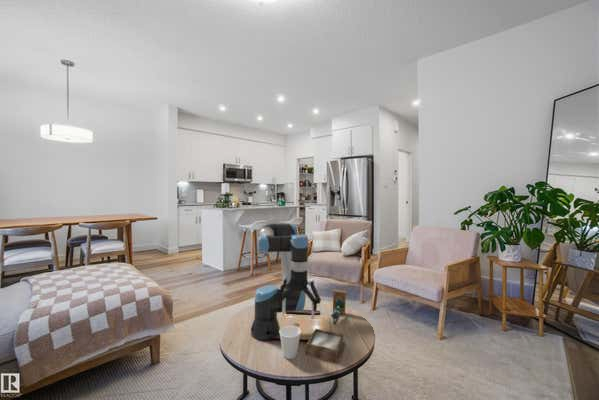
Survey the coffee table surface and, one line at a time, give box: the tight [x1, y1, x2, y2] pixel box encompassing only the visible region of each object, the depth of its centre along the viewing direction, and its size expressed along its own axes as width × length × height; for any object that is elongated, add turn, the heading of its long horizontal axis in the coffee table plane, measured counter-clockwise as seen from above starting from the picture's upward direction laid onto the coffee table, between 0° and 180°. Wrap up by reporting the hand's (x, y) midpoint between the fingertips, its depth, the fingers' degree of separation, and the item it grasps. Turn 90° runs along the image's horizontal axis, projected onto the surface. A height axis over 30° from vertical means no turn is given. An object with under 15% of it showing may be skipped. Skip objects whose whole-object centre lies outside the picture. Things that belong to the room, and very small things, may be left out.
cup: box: [279, 325, 302, 360], centre depth 118 cm, size 10×10×11 cm
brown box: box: [303, 328, 346, 364], centre depth 122 cm, size 16×14×5 cm
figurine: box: [331, 289, 347, 326], centre depth 153 cm, size 14×18×8 cm
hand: (298, 315), depth 119 cm, fingers open, 13 cm apart
